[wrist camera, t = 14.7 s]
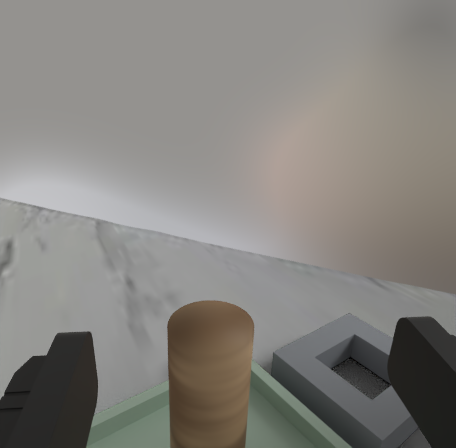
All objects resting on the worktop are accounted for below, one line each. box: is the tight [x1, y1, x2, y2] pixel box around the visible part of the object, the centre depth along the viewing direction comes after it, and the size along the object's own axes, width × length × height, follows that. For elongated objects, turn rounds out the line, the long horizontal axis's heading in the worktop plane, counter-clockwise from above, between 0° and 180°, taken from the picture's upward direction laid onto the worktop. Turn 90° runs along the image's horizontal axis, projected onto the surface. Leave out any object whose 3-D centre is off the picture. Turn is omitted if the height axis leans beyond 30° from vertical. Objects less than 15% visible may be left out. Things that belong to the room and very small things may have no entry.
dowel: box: [167, 301, 254, 448], centre depth 25 cm, size 5×5×14 cm
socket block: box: [271, 313, 419, 448], centre depth 38 cm, size 12×12×3 cm
